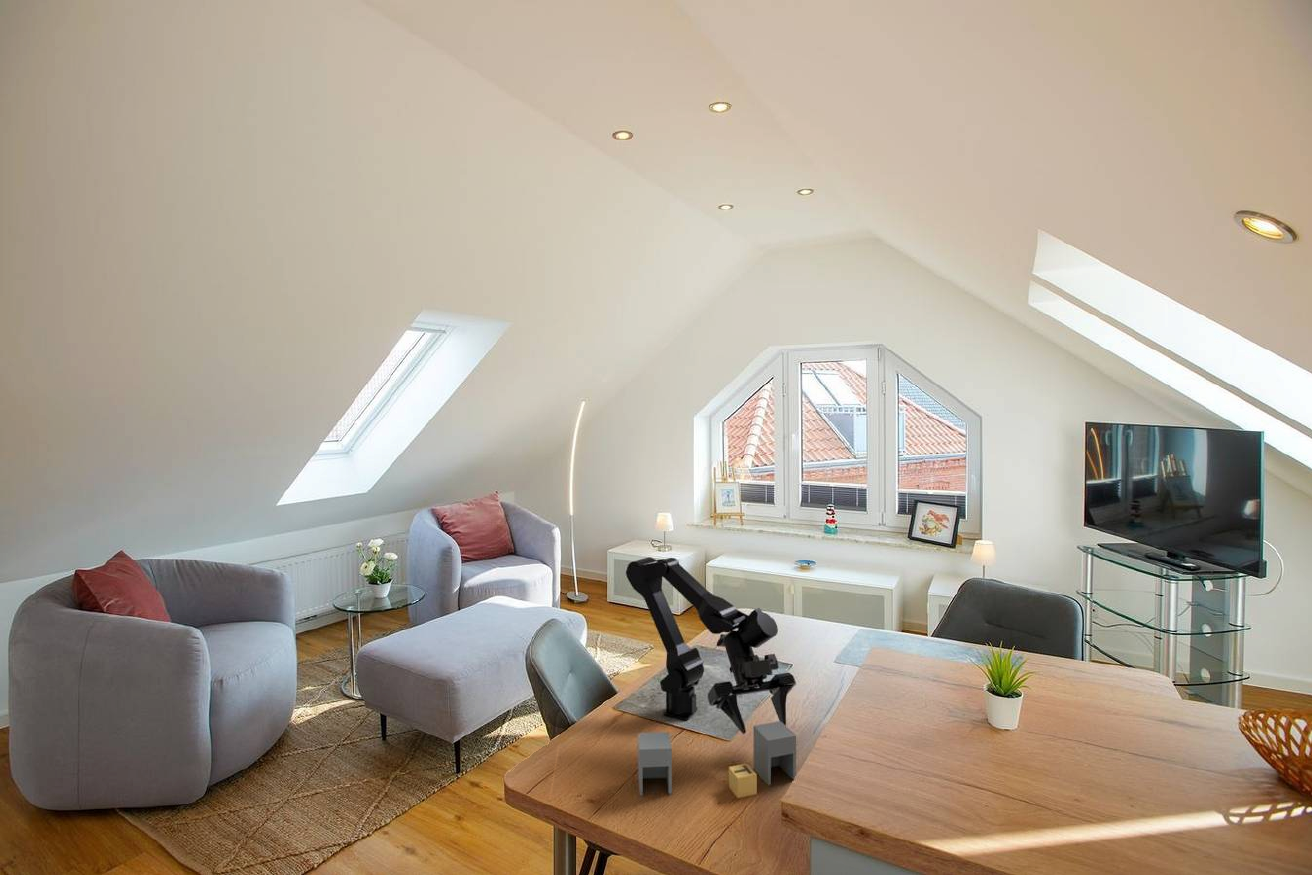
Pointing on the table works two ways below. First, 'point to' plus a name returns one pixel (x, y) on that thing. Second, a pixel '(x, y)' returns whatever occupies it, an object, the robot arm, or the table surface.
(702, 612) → the robot arm
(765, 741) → the charcoal cover
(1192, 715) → the table surface
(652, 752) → the slate cover
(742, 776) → the ochre cube
